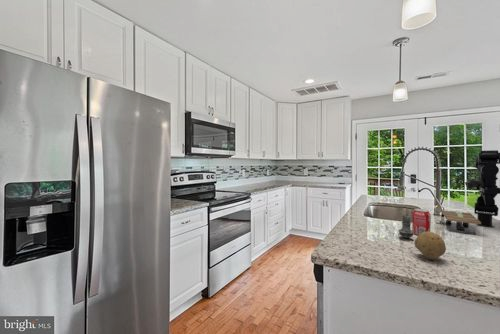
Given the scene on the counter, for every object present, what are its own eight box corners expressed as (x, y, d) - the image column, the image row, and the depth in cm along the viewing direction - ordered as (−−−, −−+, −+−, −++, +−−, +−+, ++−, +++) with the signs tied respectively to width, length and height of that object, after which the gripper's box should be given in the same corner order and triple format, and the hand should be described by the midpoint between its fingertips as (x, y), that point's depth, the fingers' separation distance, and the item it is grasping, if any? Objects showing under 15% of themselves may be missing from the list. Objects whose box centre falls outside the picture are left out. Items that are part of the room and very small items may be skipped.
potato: (408, 255, 86) (409, 229, 86) (422, 252, 89) (423, 226, 89) (436, 266, 78) (437, 237, 77) (450, 261, 81) (451, 233, 81)
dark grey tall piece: (416, 241, 100) (417, 214, 100) (401, 240, 102) (402, 214, 101) (410, 237, 106) (410, 211, 106) (396, 236, 107) (396, 211, 107)
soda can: (423, 232, 114) (424, 208, 113) (433, 237, 107) (434, 211, 106) (408, 232, 114) (409, 208, 114) (417, 236, 107) (418, 211, 107)
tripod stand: (444, 223, 129) (444, 214, 129) (468, 226, 124) (468, 216, 123) (448, 231, 116) (449, 220, 116) (475, 234, 110) (476, 223, 110)
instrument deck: (441, 212, 132) (441, 207, 132) (470, 214, 125) (470, 210, 125) (447, 220, 114) (447, 215, 114) (480, 224, 107) (481, 219, 107)
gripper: (463, 173, 128) (462, 201, 129) (470, 175, 113) (469, 206, 113) (491, 174, 122) (490, 203, 122) (503, 176, 106) (502, 209, 107)
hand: (487, 205), depth 116 cm, fingers closed
